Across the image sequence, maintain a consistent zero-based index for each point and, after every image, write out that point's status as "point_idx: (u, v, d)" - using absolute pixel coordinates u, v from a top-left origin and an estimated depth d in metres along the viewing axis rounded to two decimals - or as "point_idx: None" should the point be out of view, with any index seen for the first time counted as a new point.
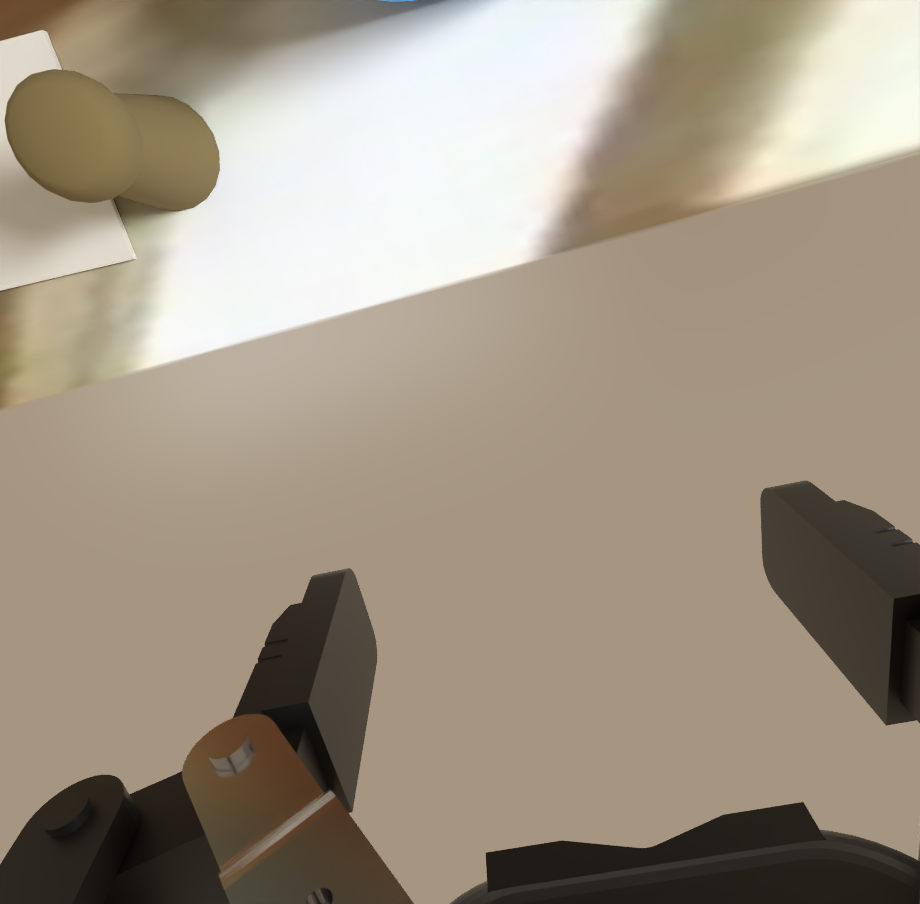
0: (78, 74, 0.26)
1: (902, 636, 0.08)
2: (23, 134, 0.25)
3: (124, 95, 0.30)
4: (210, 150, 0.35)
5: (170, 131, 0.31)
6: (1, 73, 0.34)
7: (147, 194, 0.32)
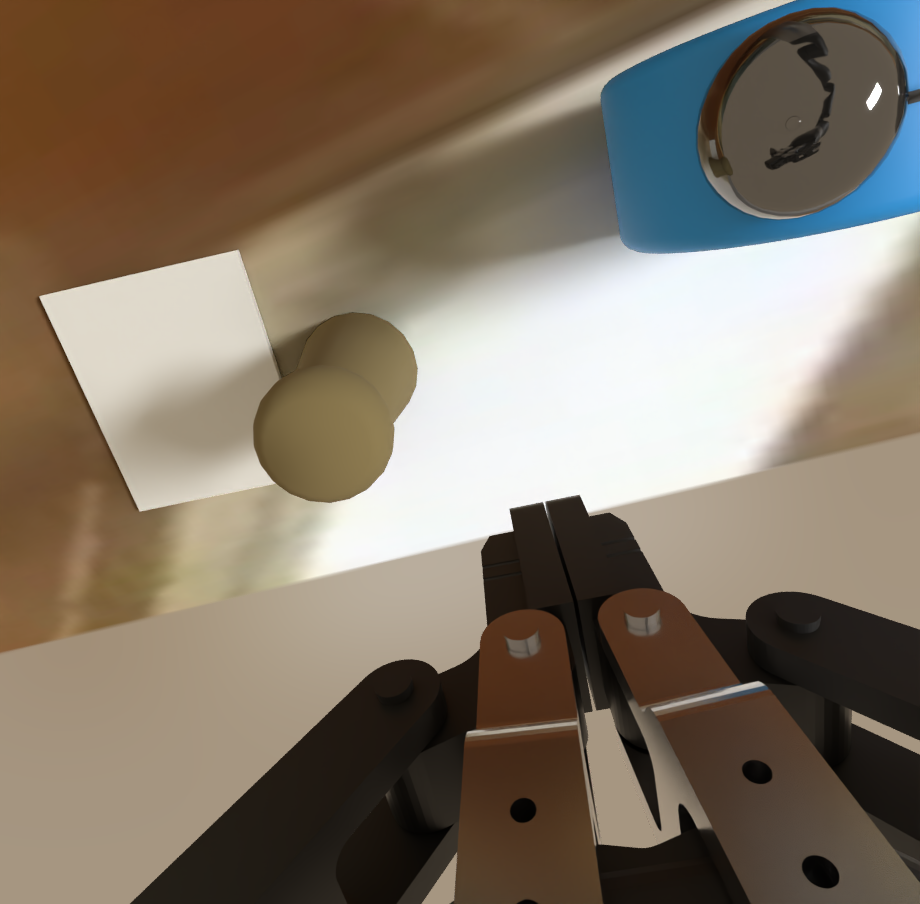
0: (342, 376, 0.22)
1: (591, 633, 0.09)
2: (281, 451, 0.22)
3: (353, 352, 0.26)
4: (413, 373, 0.31)
5: (395, 381, 0.27)
6: (185, 294, 0.30)
7: None
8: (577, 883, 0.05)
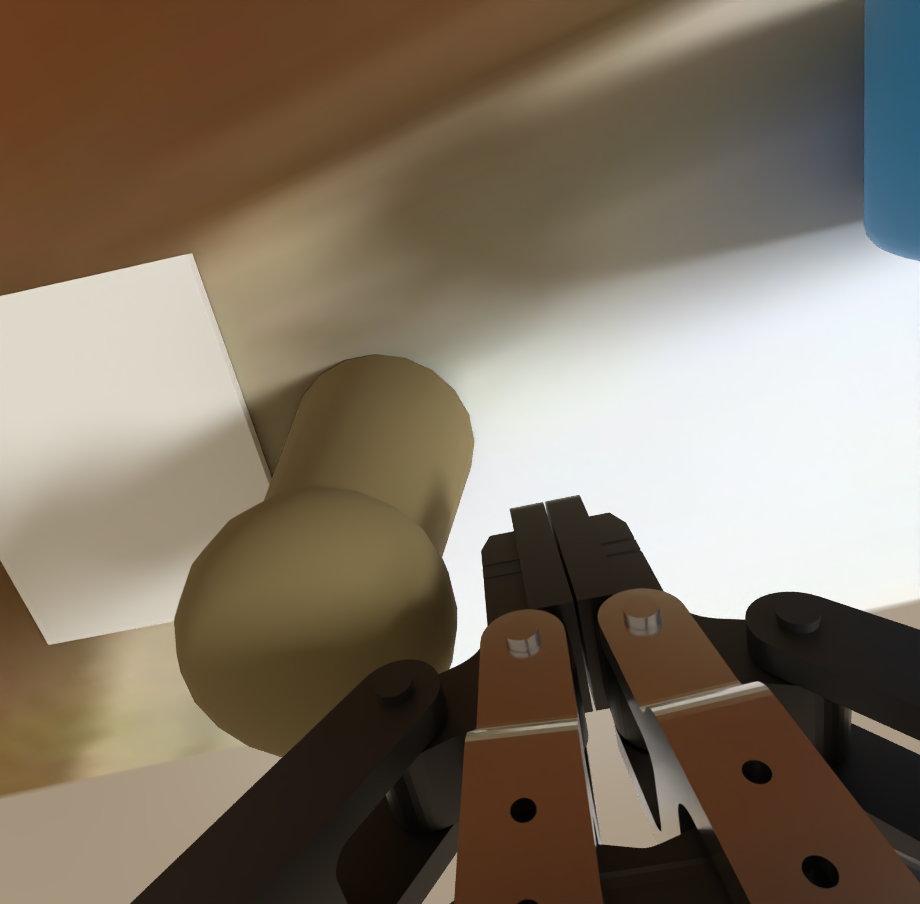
0: (357, 525, 0.10)
1: (591, 633, 0.09)
2: (227, 685, 0.10)
3: (377, 440, 0.15)
4: (470, 452, 0.19)
5: (448, 484, 0.16)
6: (105, 324, 0.18)
7: None
8: (577, 883, 0.05)
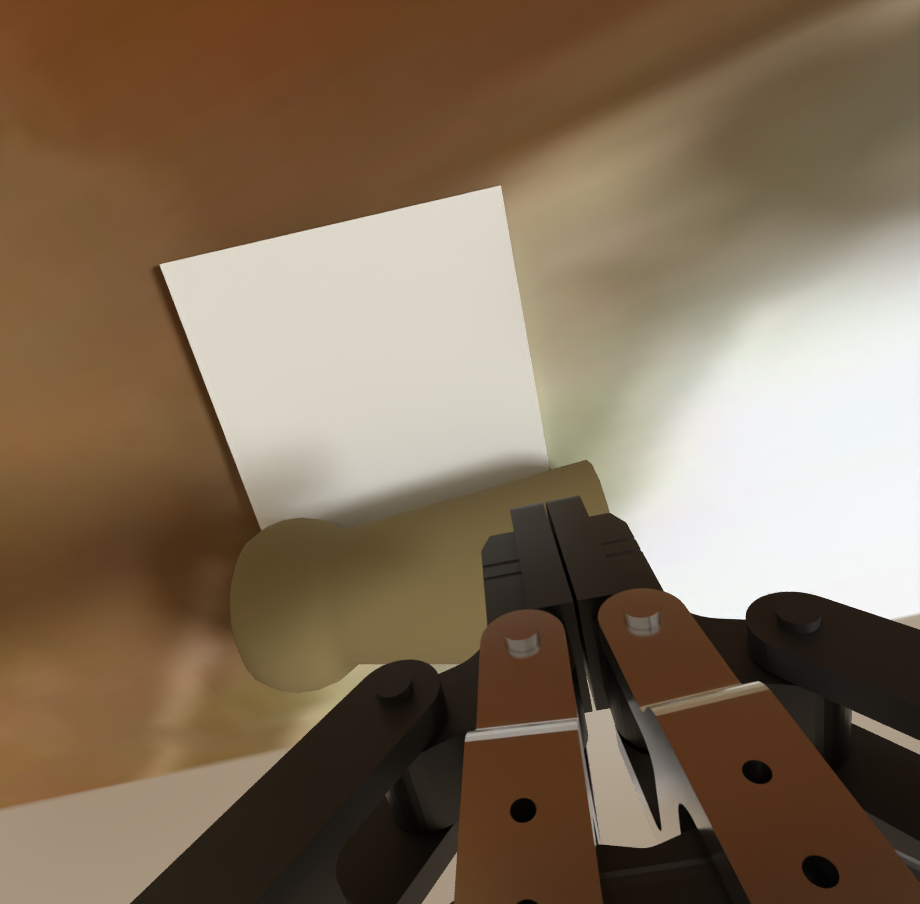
0: (276, 679, 0.17)
1: (591, 633, 0.09)
2: None
3: (427, 647, 0.17)
4: None
5: None
6: (405, 261, 0.18)
7: None
8: (577, 883, 0.05)
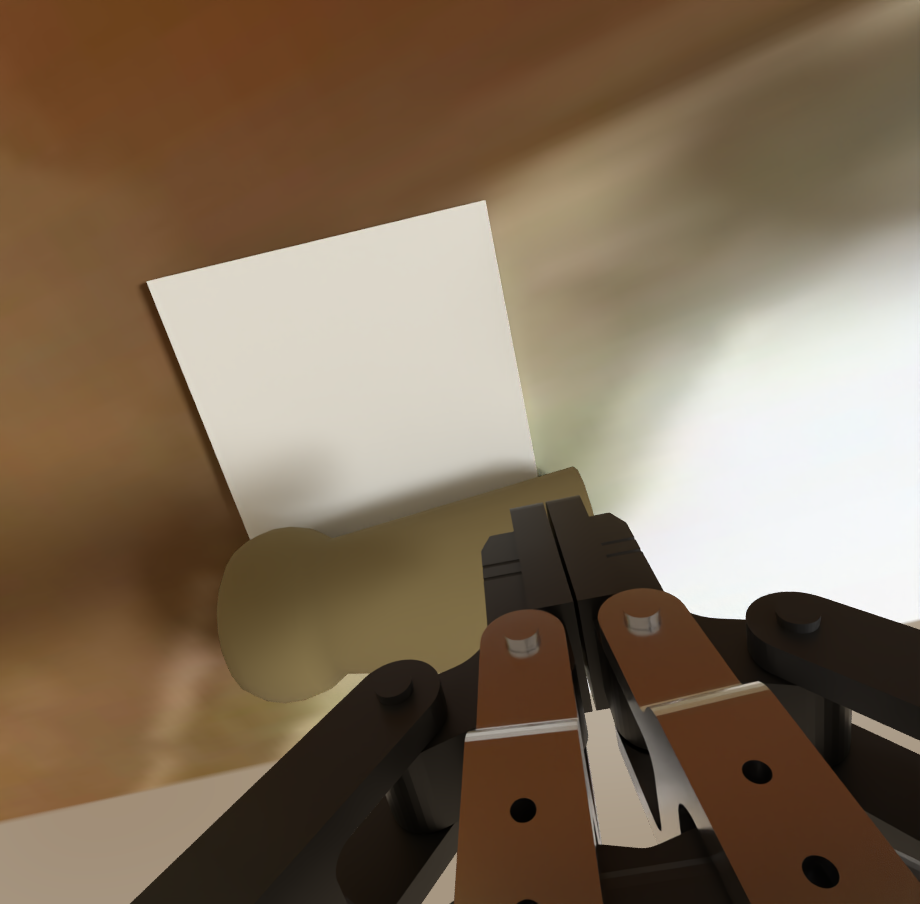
0: (261, 687, 0.17)
1: (591, 633, 0.09)
2: None
3: (413, 653, 0.17)
4: None
5: None
6: (391, 276, 0.18)
7: None
8: (577, 883, 0.05)
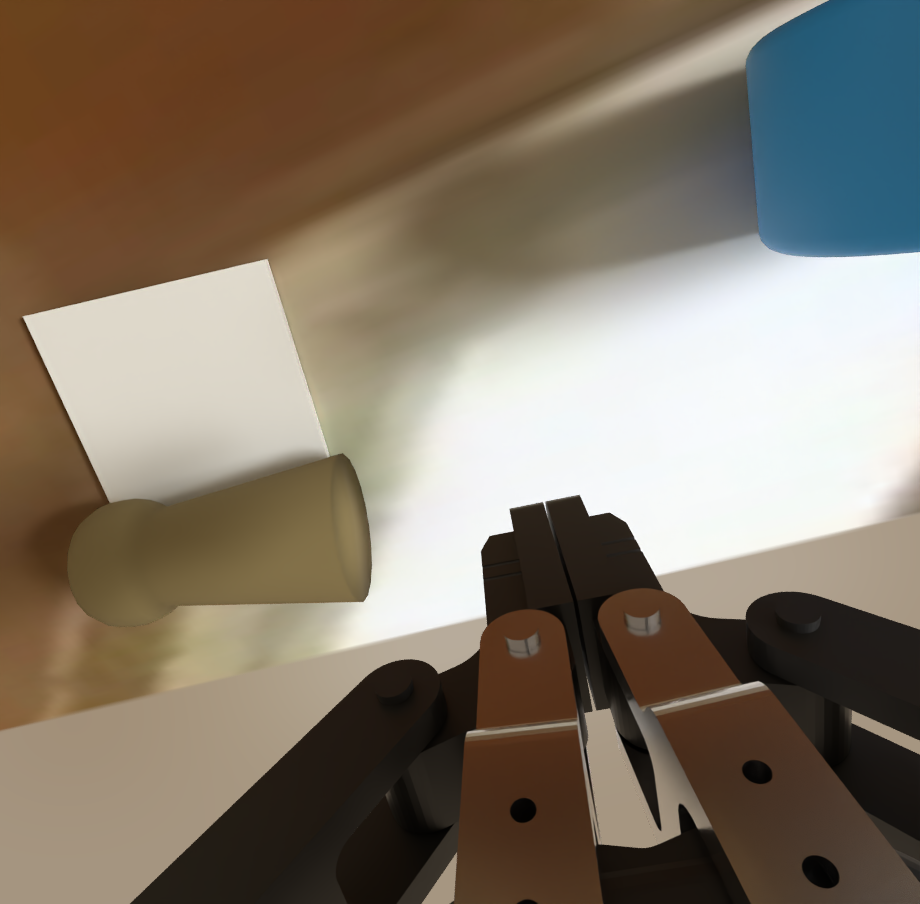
0: (97, 611, 0.23)
1: (591, 633, 0.09)
2: None
3: (207, 586, 0.23)
4: None
5: None
6: (201, 313, 0.24)
7: None
8: (577, 883, 0.05)
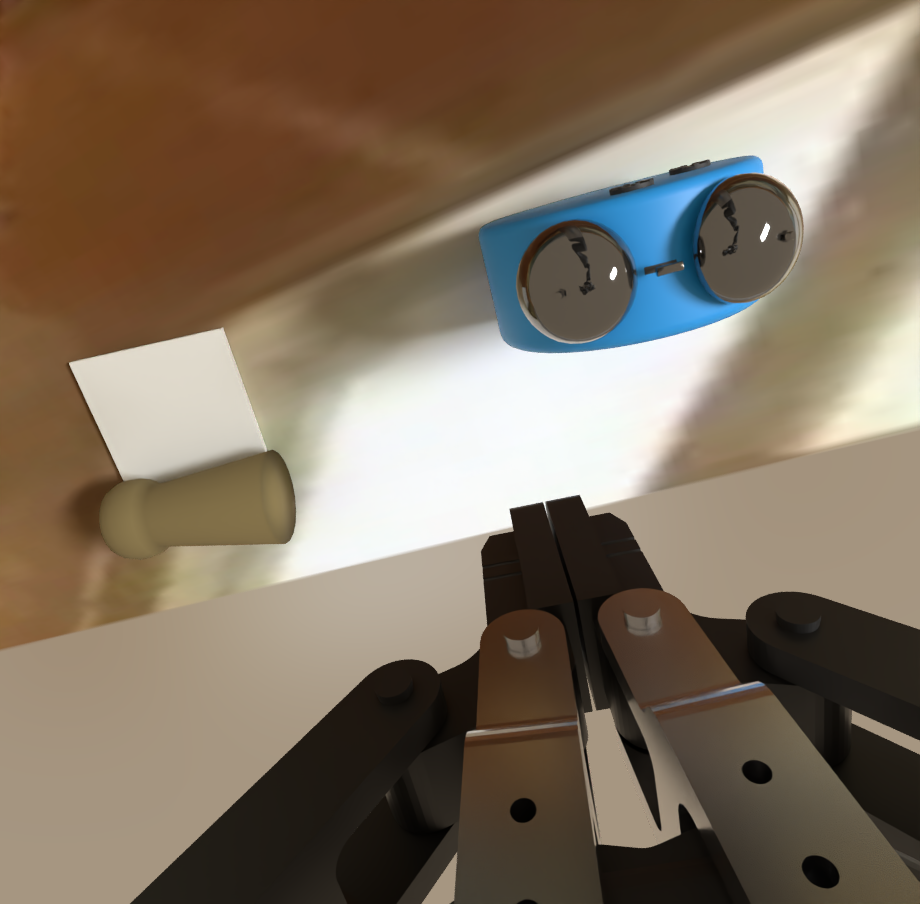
0: (118, 547, 0.38)
1: (591, 633, 0.09)
2: None
3: (185, 532, 0.37)
4: None
5: None
6: (181, 361, 0.38)
7: None
8: (577, 883, 0.05)
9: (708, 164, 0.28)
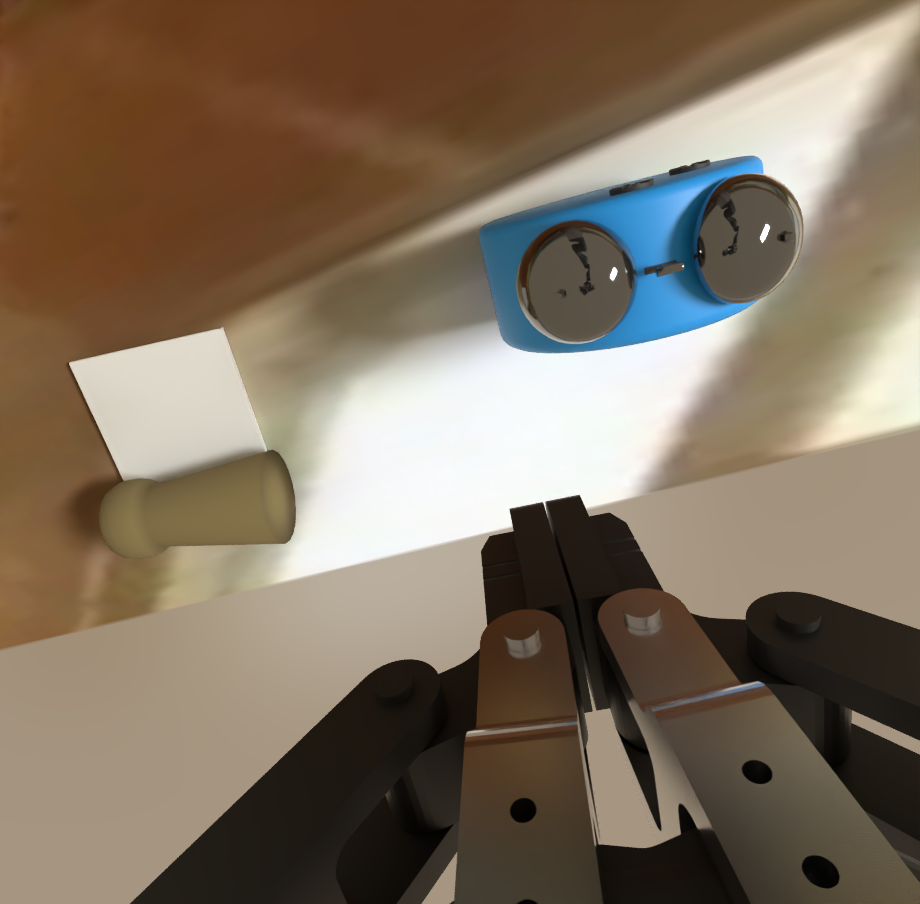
0: (118, 547, 0.38)
1: (591, 633, 0.09)
2: None
3: (185, 532, 0.37)
4: None
5: None
6: (181, 361, 0.38)
7: None
8: (577, 883, 0.05)
9: (708, 164, 0.28)
